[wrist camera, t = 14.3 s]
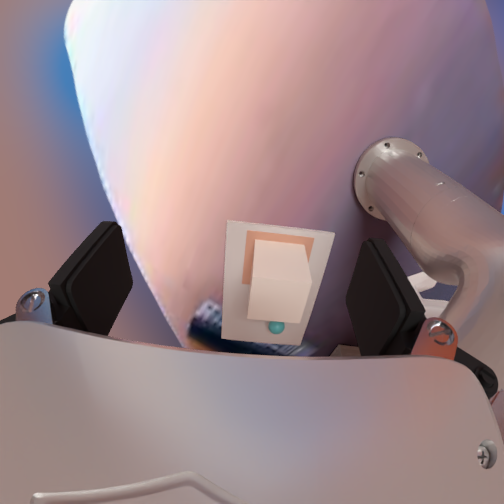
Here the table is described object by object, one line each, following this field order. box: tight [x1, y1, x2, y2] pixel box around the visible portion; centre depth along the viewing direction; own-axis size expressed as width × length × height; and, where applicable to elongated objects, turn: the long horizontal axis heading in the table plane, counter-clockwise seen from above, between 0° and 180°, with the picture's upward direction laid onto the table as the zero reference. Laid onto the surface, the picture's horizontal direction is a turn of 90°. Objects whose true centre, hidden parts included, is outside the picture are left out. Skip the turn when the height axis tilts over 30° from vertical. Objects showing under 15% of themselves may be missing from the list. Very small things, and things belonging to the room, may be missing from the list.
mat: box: [221, 220, 335, 345], centre depth 48 cm, size 16×26×1 cm, turn 174°
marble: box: [268, 321, 285, 334], centre depth 50 cm, size 3×3×3 cm
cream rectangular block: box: [247, 239, 312, 323], centre depth 40 cm, size 7×7×9 cm
